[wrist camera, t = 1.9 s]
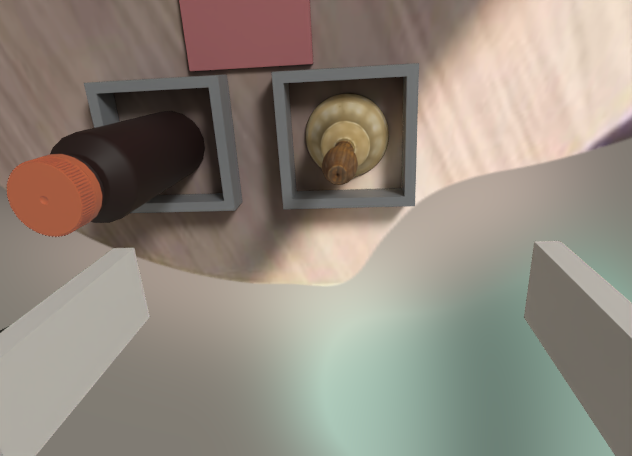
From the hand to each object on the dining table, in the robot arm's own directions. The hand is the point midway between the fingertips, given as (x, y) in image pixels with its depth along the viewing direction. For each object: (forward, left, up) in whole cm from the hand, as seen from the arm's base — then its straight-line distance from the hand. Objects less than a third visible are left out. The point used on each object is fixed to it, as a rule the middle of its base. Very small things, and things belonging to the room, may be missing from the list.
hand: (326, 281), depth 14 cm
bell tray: (0, 0, -31) cm, 31 cm away
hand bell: (0, 0, -31) cm, 31 cm away
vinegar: (0, -18, -31) cm, 36 cm away
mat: (-13, -9, -31) cm, 35 cm away
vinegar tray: (0, -18, -31) cm, 36 cm away
